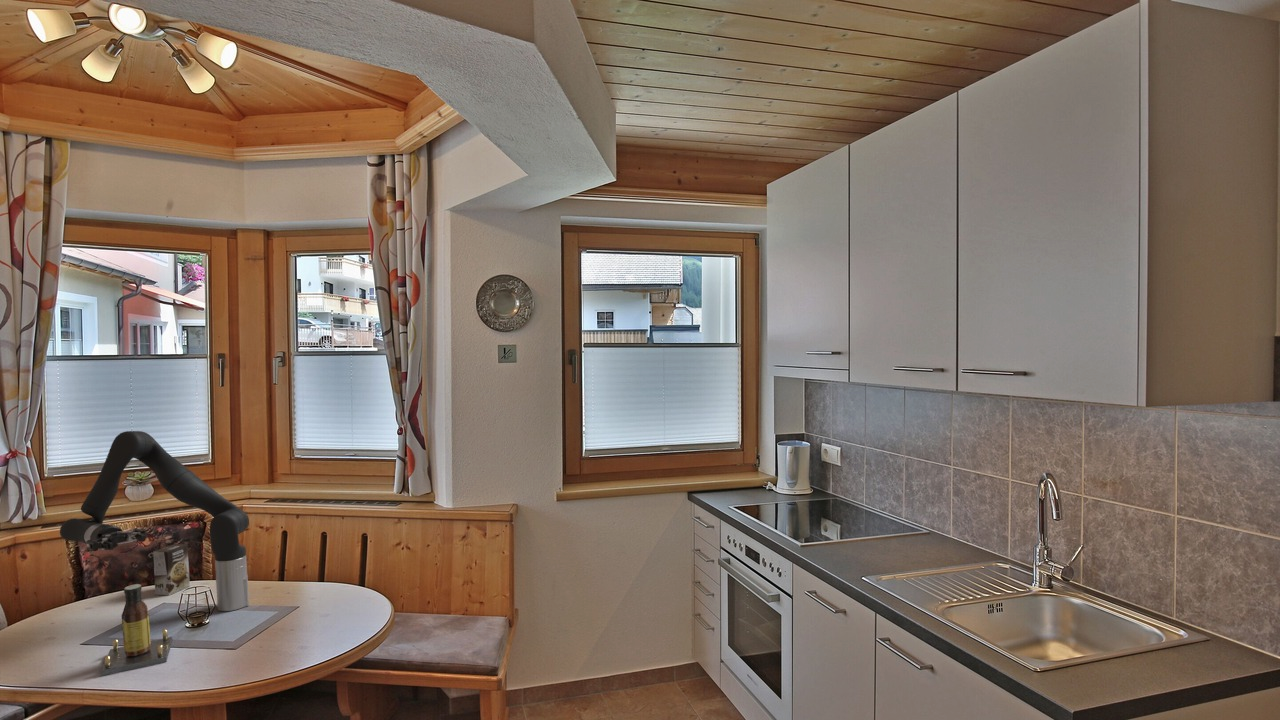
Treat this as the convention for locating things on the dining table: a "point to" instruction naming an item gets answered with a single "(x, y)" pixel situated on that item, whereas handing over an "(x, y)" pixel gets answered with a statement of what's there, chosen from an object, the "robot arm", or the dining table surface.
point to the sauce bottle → (135, 622)
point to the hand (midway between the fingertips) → (128, 542)
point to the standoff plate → (121, 662)
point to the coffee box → (171, 569)
